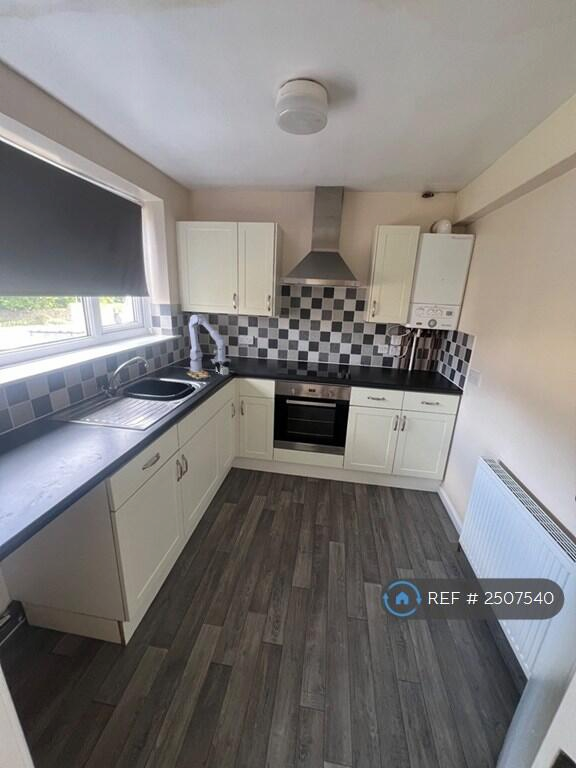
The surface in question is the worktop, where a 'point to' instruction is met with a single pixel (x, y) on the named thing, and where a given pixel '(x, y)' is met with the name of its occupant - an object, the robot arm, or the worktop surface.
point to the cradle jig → (199, 374)
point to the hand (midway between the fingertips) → (222, 371)
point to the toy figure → (216, 357)
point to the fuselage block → (223, 370)
